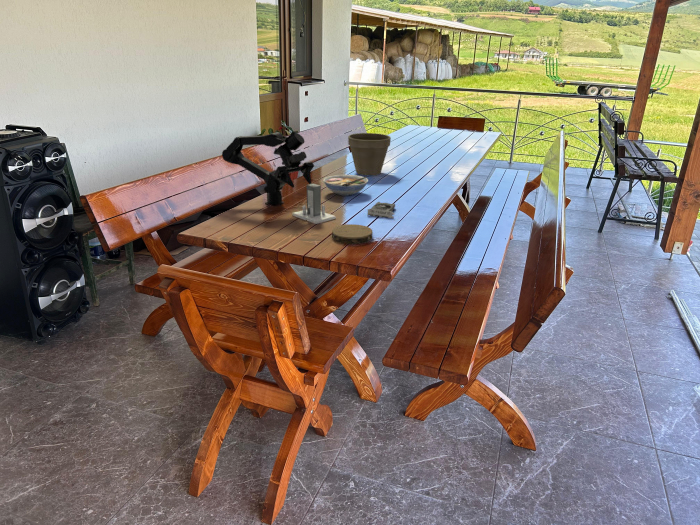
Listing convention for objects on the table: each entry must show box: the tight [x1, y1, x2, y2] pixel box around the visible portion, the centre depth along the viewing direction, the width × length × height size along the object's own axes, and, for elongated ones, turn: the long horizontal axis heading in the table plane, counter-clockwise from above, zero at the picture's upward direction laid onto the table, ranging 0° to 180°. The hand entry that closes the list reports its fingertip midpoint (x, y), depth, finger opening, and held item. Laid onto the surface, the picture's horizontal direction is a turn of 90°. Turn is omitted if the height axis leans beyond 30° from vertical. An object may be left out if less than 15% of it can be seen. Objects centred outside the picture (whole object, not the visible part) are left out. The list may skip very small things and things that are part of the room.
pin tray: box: [292, 204, 336, 225], centre depth 228 cm, size 16×11×5 cm
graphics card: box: [367, 201, 396, 219], centre depth 236 cm, size 17×4×12 cm
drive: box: [306, 183, 322, 217], centre depth 226 cm, size 5×4×13 cm
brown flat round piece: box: [331, 223, 373, 245], centre depth 205 cm, size 16×16×3 cm
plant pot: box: [347, 132, 392, 176], centre depth 307 cm, size 25×25×22 cm
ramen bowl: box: [323, 174, 370, 197], centre depth 264 cm, size 25×23×8 cm
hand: (302, 185), depth 232 cm, fingers open, 9 cm apart
